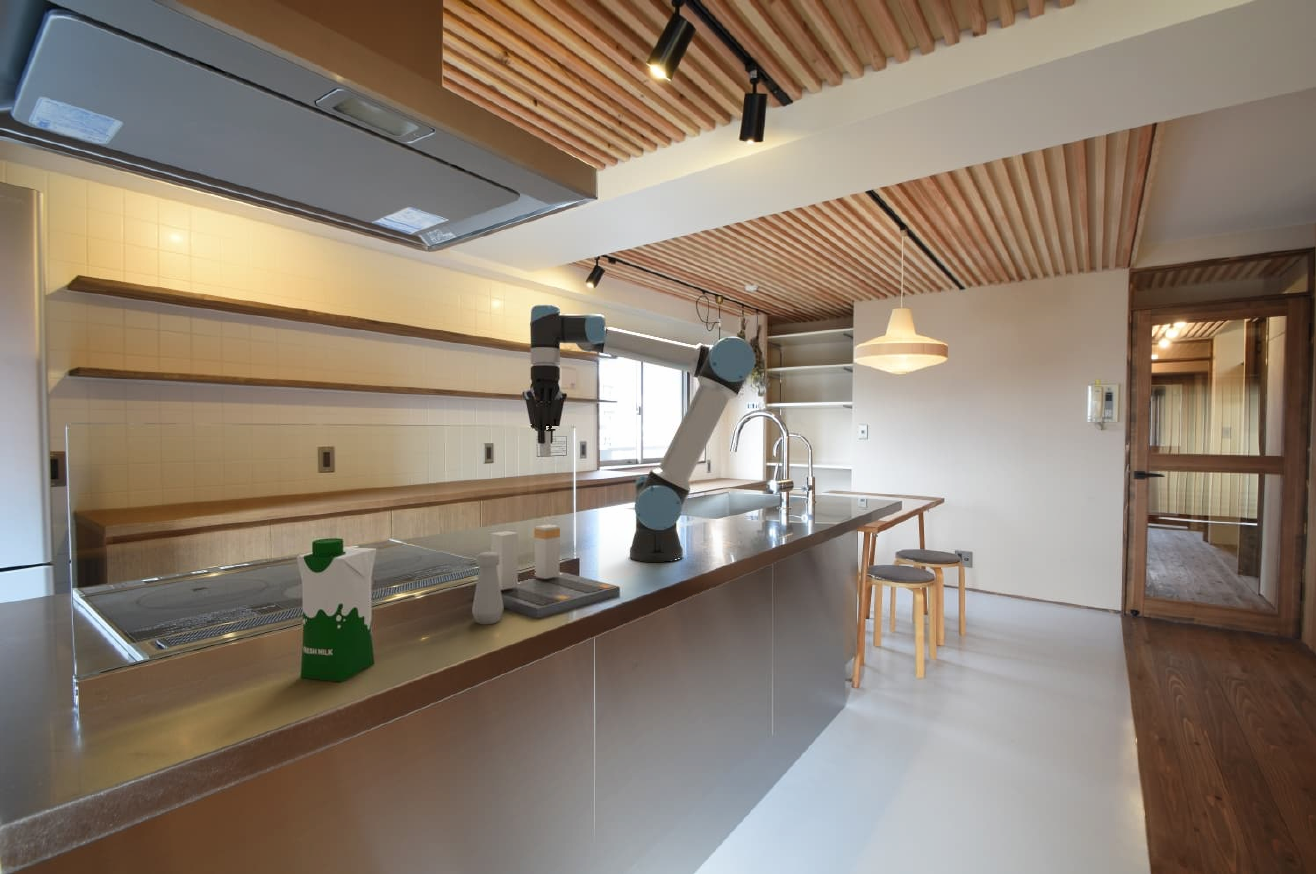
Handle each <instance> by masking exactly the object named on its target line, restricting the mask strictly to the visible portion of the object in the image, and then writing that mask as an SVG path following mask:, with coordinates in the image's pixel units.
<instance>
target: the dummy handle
mask: <svg viewBox="0 0 1316 874" xmlns="http://www.w3.org/2000/svg"><path fill="white" fill-rule="evenodd" d="M490 537H491V538H490V540H491V541H490V542H491V544H490V545H491V546H490V548H491V549H490V552H496V553H498V554H499V557H500V562H499V564H498V565H497V566H496V567H497V573H498V579H499V585H500V590H504V589H509V588H513V587H517V586H518V579H519V533H518V532H513V531H510V530H506V531H504V530H503V531H499V532H492V533H491V536H490Z"/></svg>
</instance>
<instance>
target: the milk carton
mask: <svg viewBox="0 0 1316 874" xmlns="http://www.w3.org/2000/svg"><path fill="white" fill-rule="evenodd" d="M311 547H312V550H311V552H307V553H303V554H300V555H297V556H296V561H297V566H298V570H299V574H300V579H301V585H302V647H301V648H302V650H301V664H300V667H301V668H300V679H310V680H319V681H330V682H338V683H339V682H341V683H342V682H344V681H346V680H347V679H349V678H351V677H353V676H355V675H356V674H358V673H360V672H362V671H363V670H366V669H367V668H369V667H371V666H372V665H374V664H375V656H374V655H375V654H374V648H373V647H374V646H373V637H372V636H373V634H372V575H373V569H374V563H375V561H376V555H377V549H378V548H373V547H372V548H370V547H355V546H354V547H351V546H350V547H349V546H344V539H343V538H337V537H334V538H331V537H330V538H320V539H317V540H313V541H312V544H311Z"/></svg>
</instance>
